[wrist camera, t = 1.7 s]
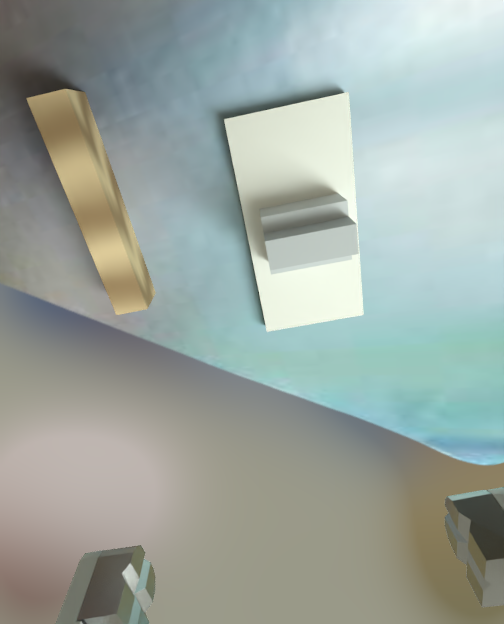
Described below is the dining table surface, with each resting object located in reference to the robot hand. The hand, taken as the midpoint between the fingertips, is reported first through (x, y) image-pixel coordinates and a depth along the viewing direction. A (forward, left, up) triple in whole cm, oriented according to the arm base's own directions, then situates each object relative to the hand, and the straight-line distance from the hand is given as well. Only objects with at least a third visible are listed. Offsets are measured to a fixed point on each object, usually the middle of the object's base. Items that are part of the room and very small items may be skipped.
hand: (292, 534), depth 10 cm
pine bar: (-5, -13, -29) cm, 32 cm away
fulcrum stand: (0, +4, -29) cm, 29 cm away
